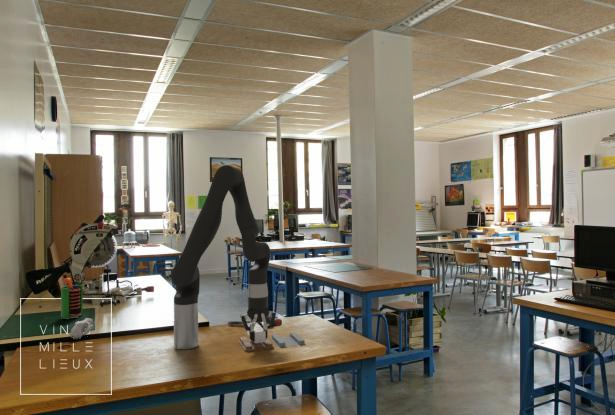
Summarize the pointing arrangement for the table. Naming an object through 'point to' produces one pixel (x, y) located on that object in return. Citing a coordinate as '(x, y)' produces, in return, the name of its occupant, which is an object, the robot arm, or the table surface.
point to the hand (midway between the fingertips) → (258, 339)
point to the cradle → (254, 344)
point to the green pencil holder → (71, 299)
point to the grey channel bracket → (288, 340)
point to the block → (258, 333)
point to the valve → (276, 322)
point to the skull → (81, 328)
